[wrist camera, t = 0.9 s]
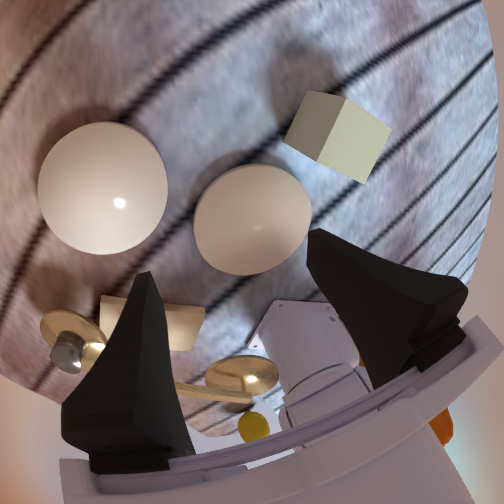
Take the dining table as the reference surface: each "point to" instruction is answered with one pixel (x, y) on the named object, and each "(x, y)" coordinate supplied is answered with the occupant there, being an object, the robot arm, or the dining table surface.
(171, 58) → the dining table surface
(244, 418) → the lemon
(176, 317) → the balance stand
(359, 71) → the dining table surface
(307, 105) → the block
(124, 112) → the dining table surface
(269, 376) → the balance beam
